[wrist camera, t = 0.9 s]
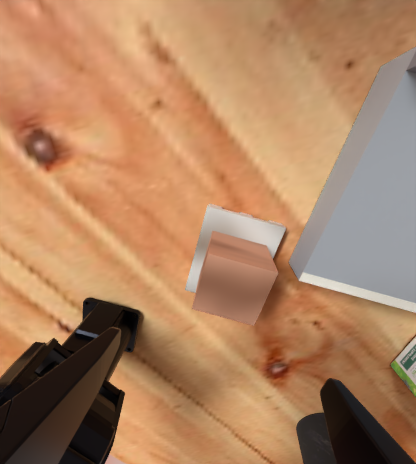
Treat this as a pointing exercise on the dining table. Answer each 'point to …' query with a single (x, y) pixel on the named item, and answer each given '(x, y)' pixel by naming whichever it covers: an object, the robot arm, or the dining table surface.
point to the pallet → (234, 228)
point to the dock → (370, 200)
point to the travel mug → (315, 440)
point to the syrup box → (407, 366)
